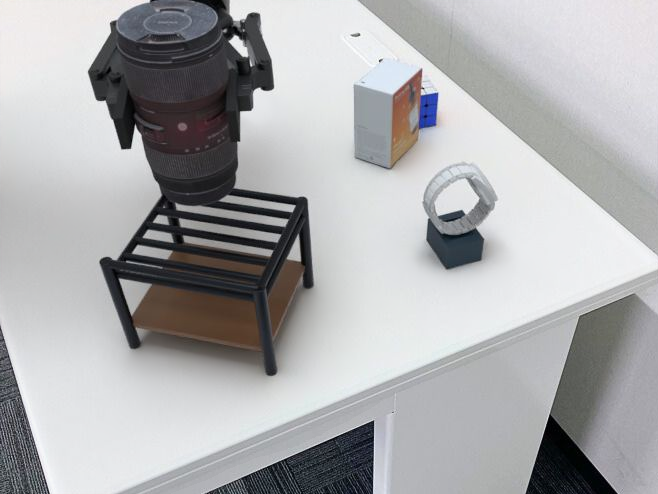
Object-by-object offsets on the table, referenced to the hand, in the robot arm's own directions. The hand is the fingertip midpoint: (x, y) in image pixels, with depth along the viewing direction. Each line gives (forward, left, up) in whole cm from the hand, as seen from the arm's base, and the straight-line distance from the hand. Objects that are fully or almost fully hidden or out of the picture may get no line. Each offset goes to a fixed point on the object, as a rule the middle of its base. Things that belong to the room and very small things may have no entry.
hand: (177, 130), depth 57 cm
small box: (+8, +38, -25) cm, 47 cm away
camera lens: (-2, +4, -9) cm, 10 cm away
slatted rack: (-2, +4, -25) cm, 25 cm away
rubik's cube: (+10, +46, -25) cm, 54 cm away
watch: (+20, +20, -25) cm, 38 cm away
